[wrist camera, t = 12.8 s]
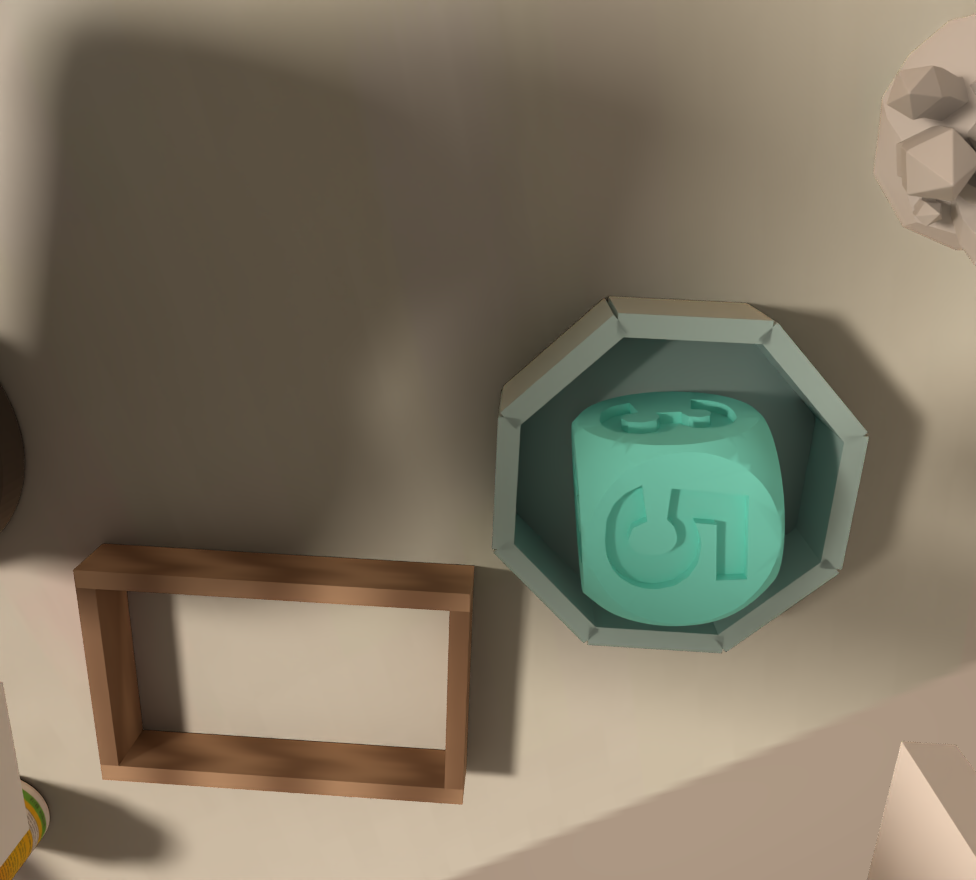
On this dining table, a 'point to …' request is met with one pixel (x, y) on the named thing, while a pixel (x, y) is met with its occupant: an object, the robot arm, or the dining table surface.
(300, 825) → the dining table surface
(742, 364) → the bowl
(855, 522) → the dining table surface
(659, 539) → the decorative dice
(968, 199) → the crystal
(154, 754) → the rectangular frame
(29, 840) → the supplement bottle
